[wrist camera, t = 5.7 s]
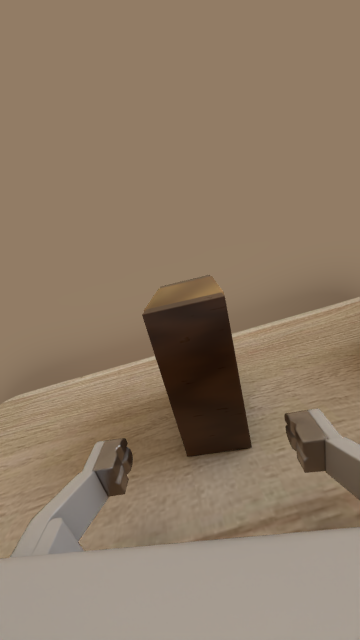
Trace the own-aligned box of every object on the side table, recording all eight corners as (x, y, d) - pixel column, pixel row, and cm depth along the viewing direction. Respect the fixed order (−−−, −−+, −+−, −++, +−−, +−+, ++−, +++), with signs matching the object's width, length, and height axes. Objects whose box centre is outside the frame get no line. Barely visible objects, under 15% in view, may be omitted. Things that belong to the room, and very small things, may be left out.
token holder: (186, 457, 16) (140, 315, 13) (186, 384, 25) (159, 286, 21) (253, 447, 16) (226, 295, 12) (230, 376, 24) (210, 274, 21)
